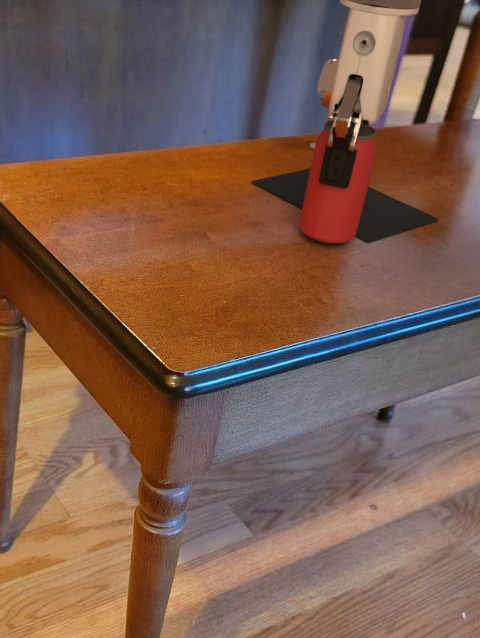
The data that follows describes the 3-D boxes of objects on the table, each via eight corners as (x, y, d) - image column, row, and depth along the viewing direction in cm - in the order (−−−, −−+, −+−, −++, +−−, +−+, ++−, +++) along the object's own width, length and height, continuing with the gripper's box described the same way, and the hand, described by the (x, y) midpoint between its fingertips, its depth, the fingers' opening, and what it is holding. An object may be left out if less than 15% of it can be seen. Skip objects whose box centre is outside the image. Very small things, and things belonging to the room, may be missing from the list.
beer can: (302, 243, 83) (325, 134, 75) (294, 219, 88) (315, 115, 81) (360, 248, 83) (388, 140, 76) (348, 223, 88) (374, 120, 81)
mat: (438, 221, 94) (439, 218, 94) (367, 243, 86) (368, 240, 86) (322, 167, 105) (322, 165, 105) (251, 183, 98) (251, 180, 98)
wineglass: (318, 155, 110) (337, 68, 102) (298, 141, 114) (314, 58, 106) (350, 153, 112) (370, 68, 104) (329, 140, 116) (347, 57, 108)
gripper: (411, 9, 63) (360, 209, 74) (431, -14, 76) (385, 158, 87) (324, -5, 65) (287, 192, 76) (359, -25, 78) (323, 145, 89)
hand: (340, 173), depth 81 cm, fingers closed on beer can, 6 cm apart
